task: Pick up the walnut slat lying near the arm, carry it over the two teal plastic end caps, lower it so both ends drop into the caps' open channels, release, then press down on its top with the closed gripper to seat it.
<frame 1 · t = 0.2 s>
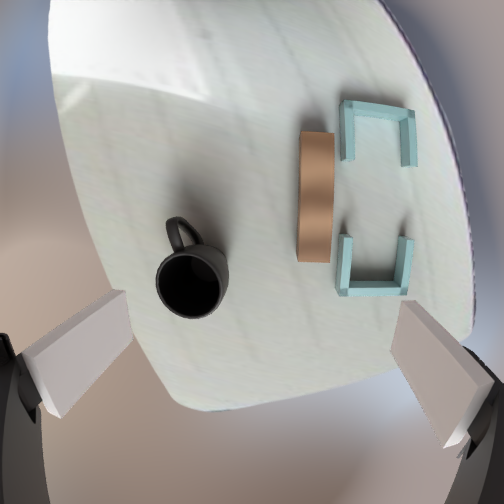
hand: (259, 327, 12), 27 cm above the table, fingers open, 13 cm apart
slat: (313, 196, 37), on the table
mug: (205, 251, 40), on the table
cap b: (371, 262, 38), on the table
cap a: (375, 136, 33), on the table
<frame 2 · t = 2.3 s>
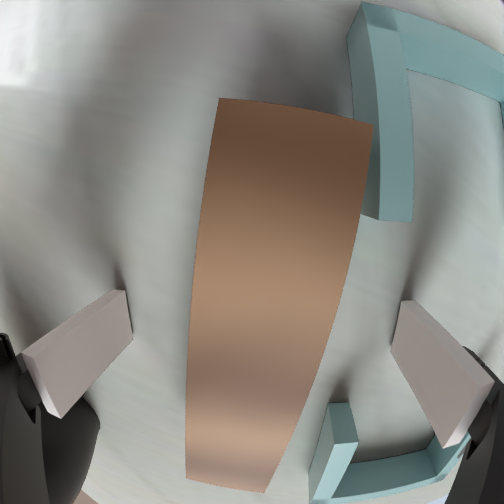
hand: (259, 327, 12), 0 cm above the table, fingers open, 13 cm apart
slat: (259, 319, 12), on the table
mug: (62, 387, 16), on the table
cap b: (392, 437, 13), on the table
cap a: (454, 134, 9), on the table
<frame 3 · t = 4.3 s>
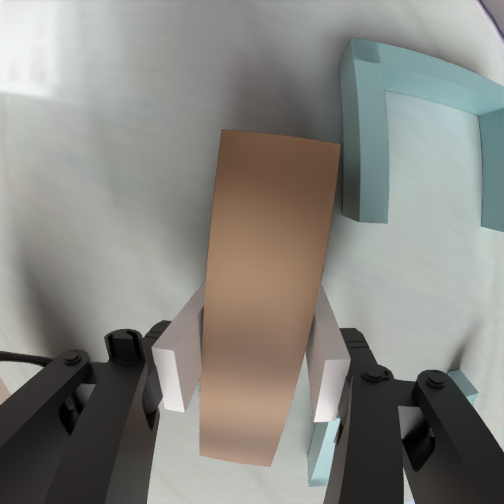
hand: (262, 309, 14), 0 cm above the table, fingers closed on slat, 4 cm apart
slat: (260, 307, 15), on the table, touching gripper
mug: (77, 378, 18), on the table
cap b: (384, 421, 15), on the table
cap a: (432, 147, 12), on the table
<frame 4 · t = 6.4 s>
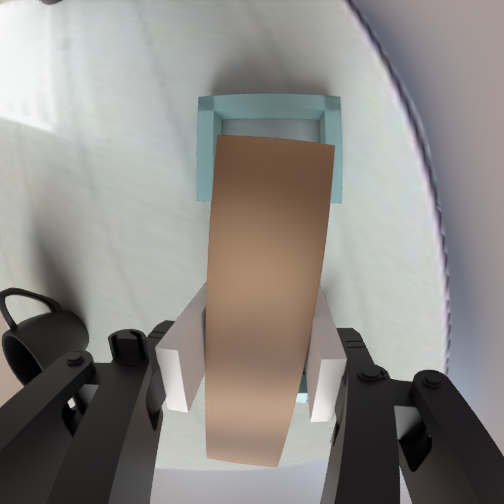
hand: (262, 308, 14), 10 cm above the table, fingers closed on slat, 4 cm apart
slat: (262, 309, 15), point 9 cm above the table, touching gripper
mug: (67, 315, 28), on the table
cap a: (270, 150, 21), on the table
when the fingers open (1 cm above the table, at t = 8.0 s): slat stays where it is, on the table.
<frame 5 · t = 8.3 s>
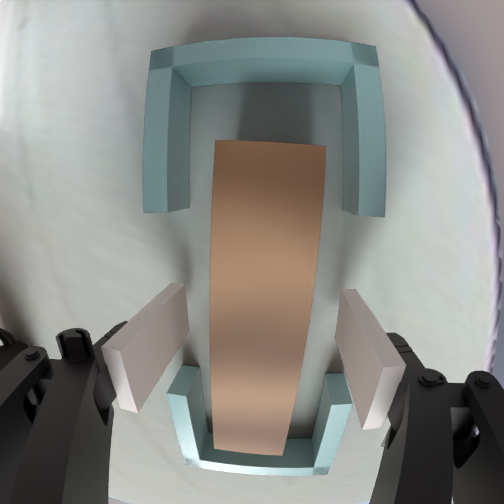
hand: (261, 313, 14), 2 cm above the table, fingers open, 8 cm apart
slat: (263, 303, 16), on the table
mug: (23, 347, 19), on the table
cap b: (260, 414, 17), on the table
cap a: (265, 130, 13), on the table
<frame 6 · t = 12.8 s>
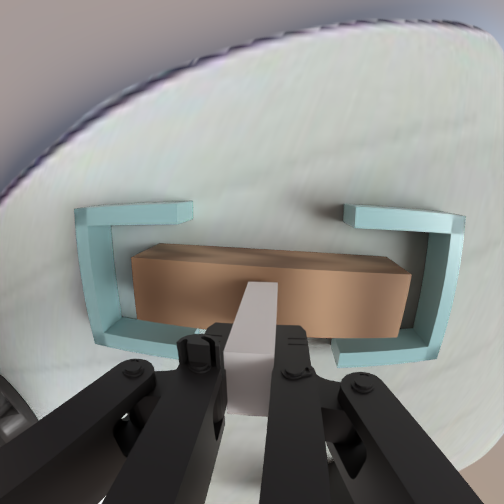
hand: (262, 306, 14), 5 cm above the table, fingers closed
slat: (271, 277, 19), on the table
mug: (328, 470, 24), on the table
cap b: (391, 280, 18), on the table
cap a: (145, 272, 20), on the table
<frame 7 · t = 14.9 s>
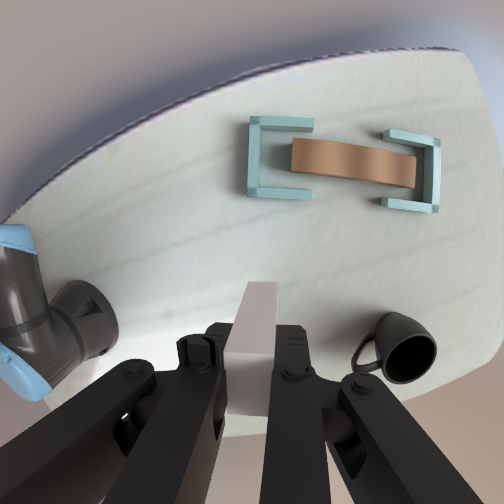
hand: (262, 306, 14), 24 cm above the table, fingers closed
slat: (350, 164, 35), on the table
mug: (379, 329, 39), on the table
cap b: (407, 172, 33), on the table
cap a: (281, 159, 36), on the table
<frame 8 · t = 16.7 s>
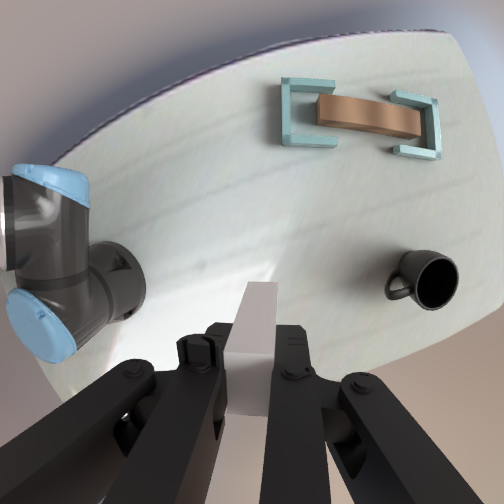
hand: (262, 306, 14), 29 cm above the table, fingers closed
slat: (364, 120, 38), on the table
mug: (401, 268, 42), on the table
cap b: (412, 127, 37), on the table
cap a: (307, 114, 38), on the table
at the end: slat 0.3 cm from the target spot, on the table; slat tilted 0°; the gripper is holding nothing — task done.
